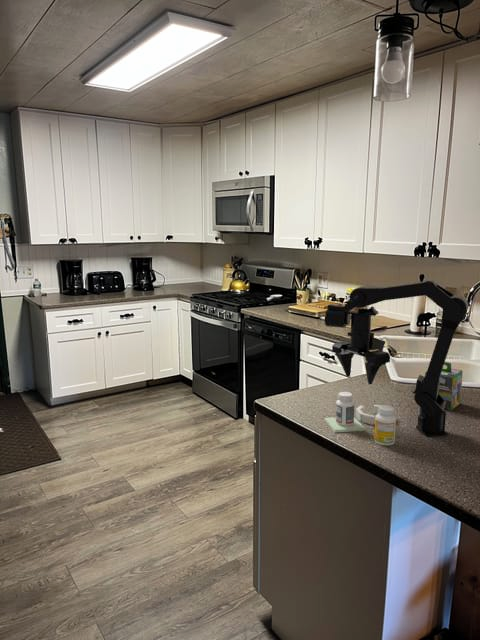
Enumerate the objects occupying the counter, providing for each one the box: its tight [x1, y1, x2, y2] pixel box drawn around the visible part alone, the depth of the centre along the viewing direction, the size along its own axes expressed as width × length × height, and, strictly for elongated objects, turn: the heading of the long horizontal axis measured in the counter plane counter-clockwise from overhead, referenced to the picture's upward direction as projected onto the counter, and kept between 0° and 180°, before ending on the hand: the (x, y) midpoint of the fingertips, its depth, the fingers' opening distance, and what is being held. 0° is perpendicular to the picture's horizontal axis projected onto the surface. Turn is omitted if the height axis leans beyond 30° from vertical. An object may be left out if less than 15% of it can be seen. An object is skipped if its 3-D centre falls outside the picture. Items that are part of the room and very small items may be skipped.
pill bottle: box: [335, 391, 355, 426], centre depth 140 cm, size 5×5×9 cm
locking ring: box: [355, 404, 381, 426], centre depth 146 cm, size 10×10×2 cm
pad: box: [324, 416, 366, 434], centre depth 141 cm, size 9×9×1 cm
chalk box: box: [424, 361, 463, 412], centre depth 156 cm, size 9×9×15 cm
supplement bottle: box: [373, 404, 397, 446], centre depth 129 cm, size 5×5×10 cm
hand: (359, 380), depth 144 cm, fingers open, 9 cm apart
